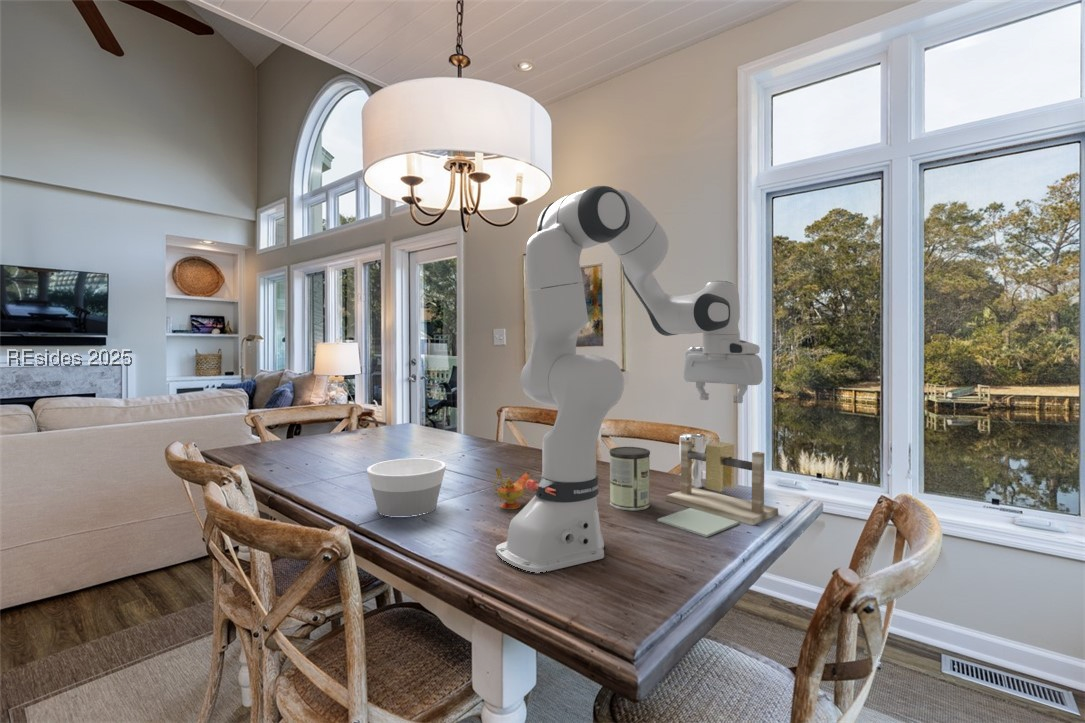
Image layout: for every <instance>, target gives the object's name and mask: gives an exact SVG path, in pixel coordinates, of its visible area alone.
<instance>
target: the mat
mask: <svg viewBox="0 0 1085 723" xmlns="http://www.w3.org/2000/svg"><path fill="white" fill-rule="evenodd" d="M656 521H657V522H660V523H662V524H665V525H668V526H672V527H674V528H677V529H681V530H683V531H687V532H690V533H693V534H696V535H699V536H702V537H705V538H708V537H711V536H713V535H715V534H718V533H720V532H723V531H726V530H728V529H730V528H732V527H735V526H737V525H738V526H739V524H740V522H739V521H735V520H732V519H728V518H725V517H721V516H718V515H714V514H711V513H707V512H704V511H700V510H697V509H693V508H690V507H688V508H686V509H683V510H679V511H677V512H673V513H671V514H667V515H664V516H662V517H659V518H657V520H656Z"/></svg>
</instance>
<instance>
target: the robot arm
mask: <svg viewBox="0 0 1085 723" xmlns="http://www.w3.org/2000/svg"><path fill="white" fill-rule="evenodd" d="M604 243H607V244H608V246H609V247H610V248H611V250H613V252H614V253H615V254H616V255H617V256H618V258H619V259H620V261H621V263H622V264H621V269H622V272H623V275H624V277H625V278H626V281H627V283H628V285H629V286H630V288H631V289H632V290H633V292H634V293H635V295H636V297H637V298H638V299H639V301H640V302H641V304H642V306H643V308H644V309H645V311H646V312H647V314H648V316H649V320H650V321H651V324H652V326H653V328H654V329H655V330H656V332H658V334H660V335H662V336H665V337H668V336H669V337H671V336H677V335H689V334H690V335H692V334H702V346H698V347H697V346H691V347H690V348H688V349H687V350H686V351H685V354H684V355H685V357H684V358H685V360H684V367H683V379H684V380H685V382H687V383H695V387H696V389H697V391H698V393H699V399H700V401H708V400H709V399H710V397H709V395H710V393H708V392H706V390H705V387H706V384H722V385H723V384H724V385H726V384H727V385H737V390H739V391H738V393H737V394H736V395H733V403H734V404H743V402H744V396H745V394H746V392H747V390H748V386H759V385H761V383H762V382H763V376H764V374H763V372H764V371H763V362H762V359H761V357H760V356H759V355H758V354H759V353H760V350H761V348H760V345H759V344H756V343H752V342H749V341H745V340H743V339H740V338H741V332H740V330H739V321H740V319H741V318H740V317H741V304H740V296H739V291H738V290H739V289H738V287H737V285H736V284H734V283H732V282H730V281H725V280H712V281H709V282H707V283H706V284H705V286H704V288H702V289H701V290H698V291H697V292H695V293H689V294H684V295H672V294H668V293H666V292H665V291H664V289H662V288H663V287H662V286H661V285H660V283H659V282H658V280H657V278H656V276H655V275H654V274H653V273H654V272H655V271H656V270H657V269H658V268H659V267H660V265H661V264H662V263H663V261H664V260H665V258H666V257H667V253H668V250H669V238H668V235H667V234H666V231H665V230H664V228H663V227H662V225H661V224H660V223H659V221H658V220H657V219H656V218H655V216H654V215H653V214H652V213H651V212H650V211H649V210H648V208H647V207H646V206H645V205H644V204H643V203H642V202H641V201H640V200H638V199H637V198H636V196H634V195H632V193H631V192H629V191H628V190H624V189H616V188H613V187H612V186H607V185H597V186H592V187H589V188H587V189H585V190H581V191H578V192H572V193H570V194H568V195H566V196H564V197H561V198H560V199H558V200H557V201H554V202H551V203H550V204H548V205H547V206H546V207H545V208H544V209H543V210H542V211H541V213H540V214H539V217H538V219H537V223H536V233H534V234H533V235H532V236H531V237H529V239H528V241H527V243H526V246H525V247H526V248H525V274H526V275H525V277H526V285H527V290H528V300H529V305H530V312H531V313H530V314H531V320H532V321H531V322H532V341H531V349H530V353H529V354H530V355H529V357H528V360H527V361H526V362H525V364H524V366H523V367H522V370H521V373H520V378H519V379H520V386H521V389H522V391H523V393H524V394H525V396H527V397H528V398H529V399H531V400H533V401H535V402H537V403H540V404H541V405H545V406H550V407H558V408H557V414H556V418H555V422H554V424H553V426H552V428H551V429H550V430H548V431H547V432H545V434H544V436H543V438H542V442H541V444H542V445H541V446H542V450H541V451H542V452H541V453H542V454H541V455H542V457H541V458H542V459H541V461H542V462H541V464H542V465H541V467H542V468H541V469H542V473H541V475H540V477H539V480H538V481H537V480H533V479H532V478H531V479H530V478H529V479H528V480H527V482H526V487H525V489H527V490H530V491H533V492H534V494H535V495H534V496H533V497H532V498H531V499H530V500H529V501H528V502H527V504H525V506H524V507H523V508H522V509H521V510H520V511H519V512H518V513H517V514H516V515H515V516H514V517H512V519H511V521H510V523H509V526H508V531H507V538H506V541H504V542H501V543H499V544H497V545H496V546H495V554H496V553H497V555H498V556H499V557H500V558H501V559H502V560H501V559H500V558H499V557H498V556H497V555H496V556H497V557H498V558H499V559H500V560H501V561H503V560H504V561H506V562H507V563H509V564H511V565H513V566H515V567H518V568H521V569H523V570H526V571H525V572H527V571H530V572H529V573H531V572H535V573H534V574H541V573H540V572H543V573H547V572H552V571H555V570H560V569H563V568H569V567H572V566H577V565H582V564H585V563H588V562H589V563H590V562H593V561H597V560H601V559H604V558H605V550H604V548H605V541H604V538H603V535H602V531H601V523H600V514H599V509H598V508H599V507H598V500H597V499H598V498H597V496H598V495H599V486H600V485H599V476H598V475H597V453H598V452H597V450H598V438H599V433H600V430H601V427H602V425H603V422H604V420H605V418H606V416H607V414H608V412H609V411H610V410H611V409H613V408H614V407H615V406H616V405H617V404H618V403H619V402H620V400H621V399H622V396H623V395H624V394H623V393H624V388H625V378H624V374H623V371H622V369H621V367H620V366H619V364H617V363H616V362H615V361H613V360H611V359H609V358H606V357H603V356H599V355H595V354H577V349H576V348H577V343H578V342H577V340H578V337H579V334H580V332H581V331H583V330H584V328H585V327H586V326H587V323H588V318H589V316H588V309H587V303H586V302H587V301H586V294H585V293H586V292H585V285H584V281H583V280H584V279H583V273H582V267H581V262H580V259H581V258H580V257H581V254H582V251H583V250H585V249H588V248H592V247H595V246H598V245H600V244H604ZM504 561H503V562H504ZM506 562H505V563H506ZM507 563H506V564H507ZM509 564H508V565H509ZM511 565H510V566H511ZM513 566H512V567H513ZM515 567H514V568H515ZM523 570H522V571H523ZM546 571H547V572H546Z"/></svg>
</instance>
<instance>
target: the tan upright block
mask: <svg viewBox="0 0 1085 723" xmlns="http://www.w3.org/2000/svg"><path fill="white" fill-rule="evenodd" d="M705 454H706V461H705V489H706V490H707V489H708V490H712V491H716V492H719V493H720V492H723V491H724V489H723V488H725V487H726V488H729V489H733V488H735V467H731V466H726V465H723V459H724V458H732V459H735V444H734V443H729V442H722V441H718V442H713V443H710V444H708V443H707V444H705Z"/></svg>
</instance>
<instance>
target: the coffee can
mask: <svg viewBox="0 0 1085 723" xmlns="http://www.w3.org/2000/svg"><path fill="white" fill-rule="evenodd" d="M608 452H609V505H610V506H611V507H612V508H615V509H618V510H623V511H643V510H647V509H648V508H649V507H650V506H651V505H650V504H651V503H650V495H651V494H650V474H651V472H650V454H651V450H649V449H647V448H644V447H638V446H617V447H612V448H610V449H609V451H608Z"/></svg>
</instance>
